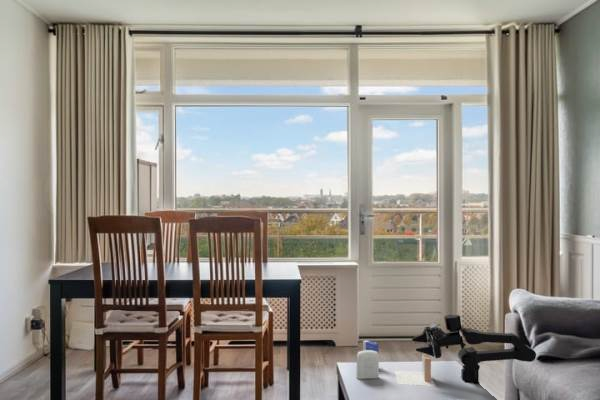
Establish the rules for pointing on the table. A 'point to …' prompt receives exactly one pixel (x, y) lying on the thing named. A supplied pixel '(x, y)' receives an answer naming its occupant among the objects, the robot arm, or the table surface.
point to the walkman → (370, 346)
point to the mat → (412, 378)
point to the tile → (426, 367)
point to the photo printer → (367, 364)
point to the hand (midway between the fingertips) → (414, 344)
